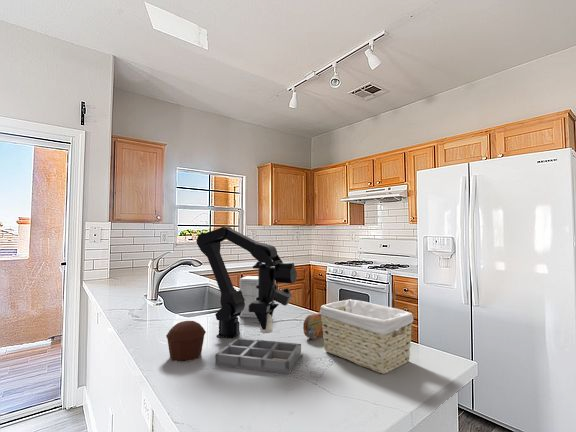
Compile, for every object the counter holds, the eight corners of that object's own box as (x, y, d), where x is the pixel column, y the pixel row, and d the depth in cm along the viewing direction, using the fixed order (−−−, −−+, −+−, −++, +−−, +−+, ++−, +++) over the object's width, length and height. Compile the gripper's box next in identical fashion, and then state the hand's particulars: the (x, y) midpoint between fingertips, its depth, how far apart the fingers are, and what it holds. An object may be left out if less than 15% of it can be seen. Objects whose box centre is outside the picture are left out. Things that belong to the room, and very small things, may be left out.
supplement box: (265, 313, 148) (265, 276, 149) (259, 318, 139) (259, 279, 140) (246, 311, 150) (246, 275, 151) (238, 316, 141) (239, 278, 142)
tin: (308, 342, 109) (308, 317, 110) (301, 339, 112) (301, 315, 112) (336, 333, 120) (336, 310, 120) (329, 331, 122) (329, 308, 122)
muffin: (188, 366, 90) (189, 330, 90) (157, 360, 93) (157, 325, 94) (212, 351, 101) (213, 319, 101) (183, 346, 104) (184, 315, 105)
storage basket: (416, 362, 93) (415, 311, 93) (385, 379, 82) (384, 321, 83) (350, 341, 111) (350, 297, 112) (317, 352, 100) (317, 304, 101)
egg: (258, 332, 109) (258, 314, 109) (262, 328, 113) (262, 311, 113) (270, 333, 108) (270, 315, 108) (273, 329, 112) (274, 312, 112)
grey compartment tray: (215, 365, 90) (215, 354, 90) (236, 347, 104) (236, 337, 105) (288, 374, 85) (288, 362, 85) (300, 353, 99) (300, 343, 99)
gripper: (281, 287, 100) (281, 338, 100) (295, 278, 118) (295, 321, 118) (248, 285, 103) (247, 335, 102) (266, 277, 121) (266, 319, 120)
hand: (266, 327), depth 111 cm, fingers closed on egg, 4 cm apart
